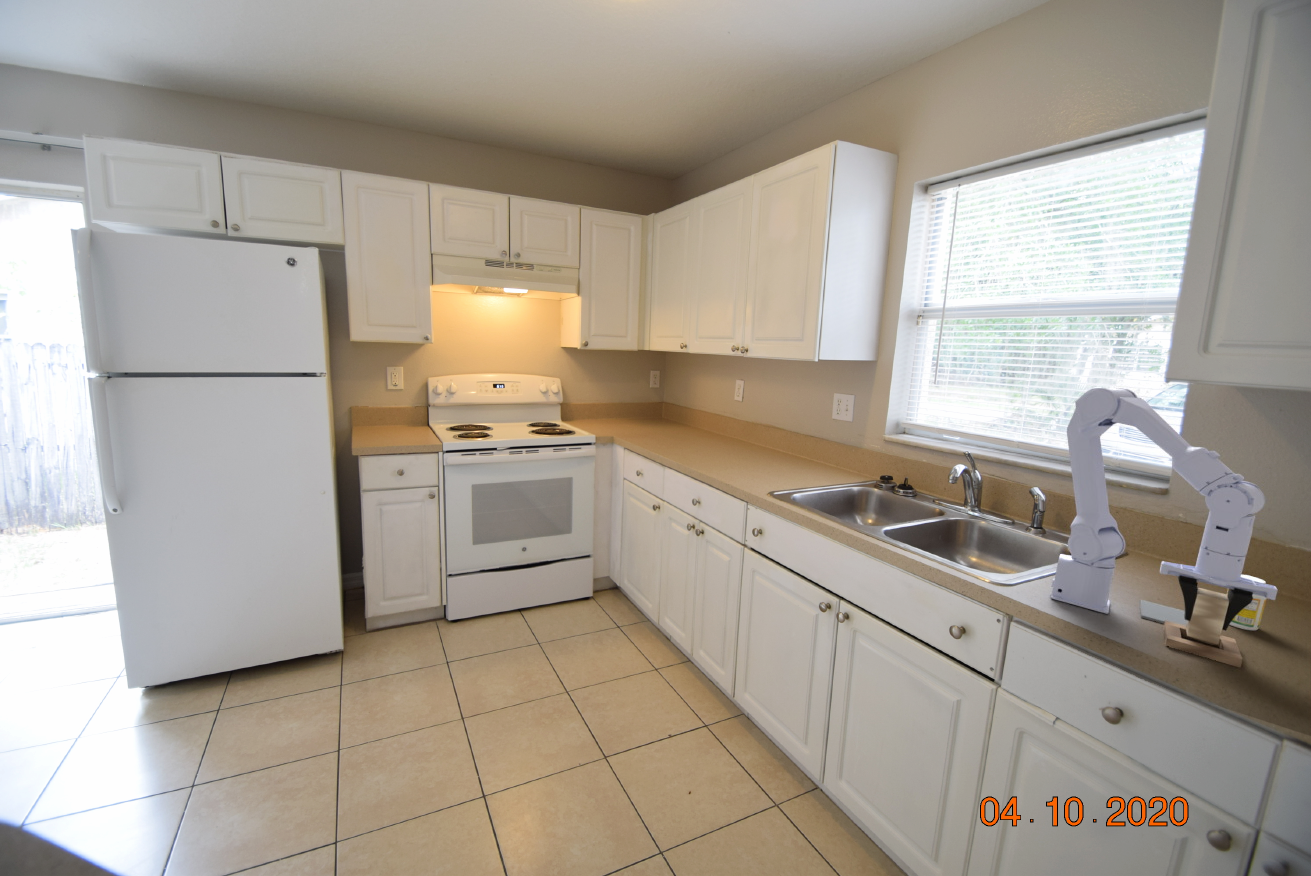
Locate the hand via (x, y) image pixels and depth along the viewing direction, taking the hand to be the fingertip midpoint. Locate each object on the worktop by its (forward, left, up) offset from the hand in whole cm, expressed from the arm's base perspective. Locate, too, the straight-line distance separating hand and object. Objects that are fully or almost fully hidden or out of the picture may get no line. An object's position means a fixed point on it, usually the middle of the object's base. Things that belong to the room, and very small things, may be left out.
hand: (1204, 623), depth 101 cm
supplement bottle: (+7, +19, -5) cm, 21 cm away
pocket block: (0, 0, -4) cm, 4 cm away
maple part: (0, 0, -2) cm, 2 cm away
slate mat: (-3, +12, -4) cm, 13 cm away
